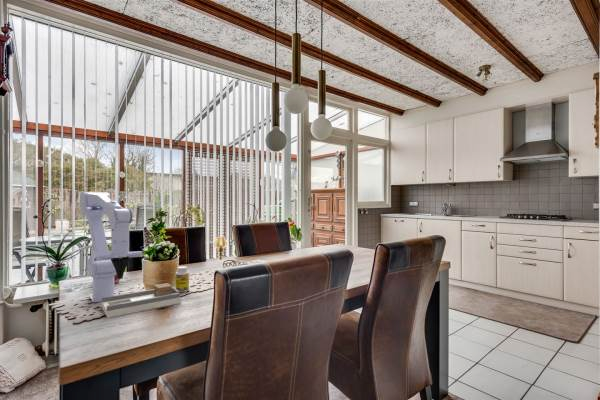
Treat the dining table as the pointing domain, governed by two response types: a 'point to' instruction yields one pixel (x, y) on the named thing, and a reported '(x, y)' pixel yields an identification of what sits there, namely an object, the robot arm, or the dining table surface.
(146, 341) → the dining table surface
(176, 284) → the supplement bottle
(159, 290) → the block
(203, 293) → the dining table surface
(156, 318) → the dining table surface
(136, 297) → the deck
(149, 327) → the dining table surface
